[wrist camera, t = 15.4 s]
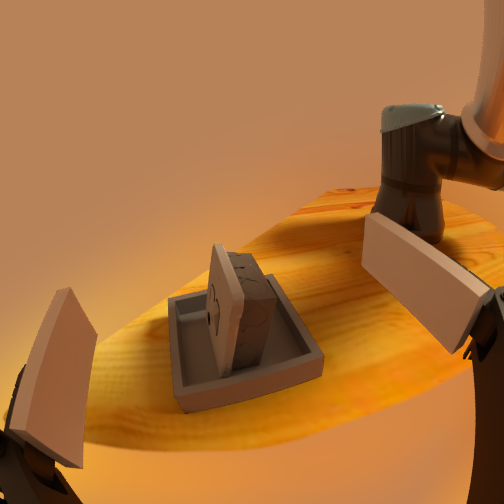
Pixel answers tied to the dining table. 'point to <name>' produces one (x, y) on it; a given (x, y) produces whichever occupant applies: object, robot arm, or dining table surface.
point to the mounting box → (244, 379)
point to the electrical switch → (237, 310)
